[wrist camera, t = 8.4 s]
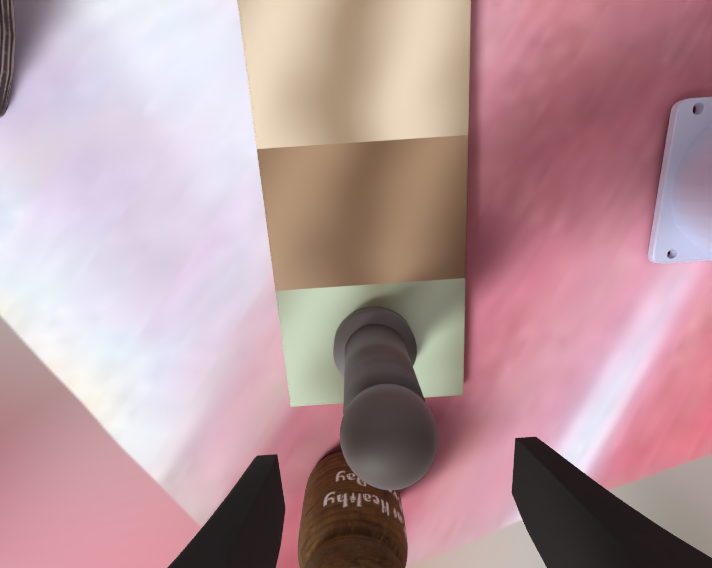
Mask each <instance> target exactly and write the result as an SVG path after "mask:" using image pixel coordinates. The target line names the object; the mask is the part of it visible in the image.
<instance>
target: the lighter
mask: <svg viewBox="0 0 712 568" xmlns="http://www.w3.org/2000/svg"><path fill="white" fill-rule="evenodd" d="M15 41H16V34H15V20H14V6H13V0H0V118H1V117H2V116H3V115H4V114H5V111H6V109H7V106H8V101H9V95H10V90H11V85H12V79H13V72H14V57H15Z"/></svg>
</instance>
